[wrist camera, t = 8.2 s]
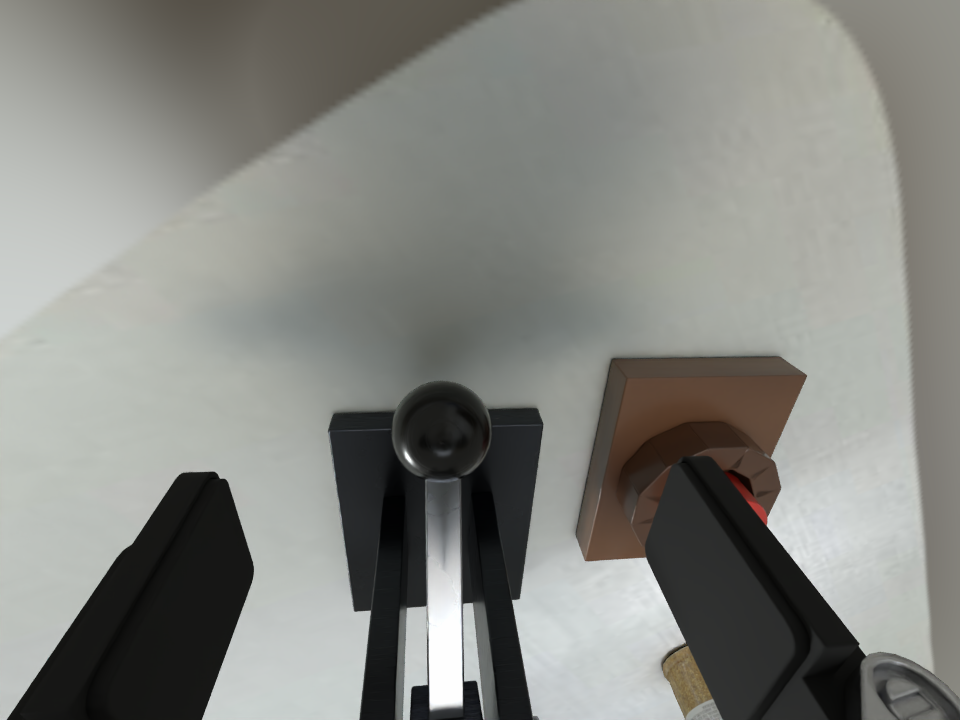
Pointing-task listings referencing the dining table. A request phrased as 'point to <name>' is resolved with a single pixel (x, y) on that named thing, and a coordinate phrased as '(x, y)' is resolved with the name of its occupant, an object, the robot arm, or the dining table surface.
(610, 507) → the button block
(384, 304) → the dining table surface
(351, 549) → the bracket
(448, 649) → the lever
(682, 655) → the sprinkles bottle
